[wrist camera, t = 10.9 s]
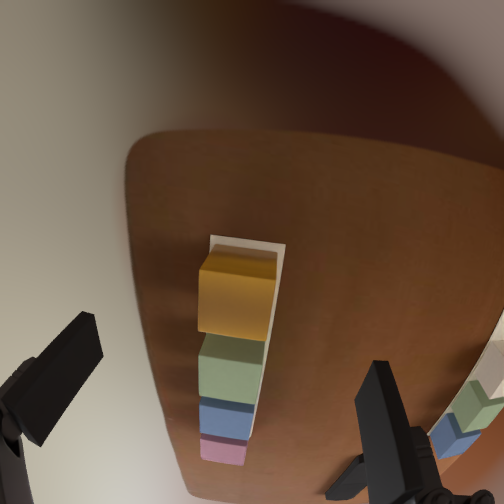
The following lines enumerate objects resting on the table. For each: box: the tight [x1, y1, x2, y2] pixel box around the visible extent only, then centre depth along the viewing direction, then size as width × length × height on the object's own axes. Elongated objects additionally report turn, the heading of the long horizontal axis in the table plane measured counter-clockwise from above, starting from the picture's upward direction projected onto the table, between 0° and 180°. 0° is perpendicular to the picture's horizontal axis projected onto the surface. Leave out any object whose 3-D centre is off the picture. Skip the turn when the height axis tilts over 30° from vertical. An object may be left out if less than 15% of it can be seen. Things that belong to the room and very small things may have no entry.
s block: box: [198, 244, 278, 341], centre depth 19 cm, size 4×4×4 cm
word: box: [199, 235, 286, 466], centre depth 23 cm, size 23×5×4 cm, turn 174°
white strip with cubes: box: [427, 310, 504, 459], centre depth 21 cm, size 23×5×4 cm, turn 174°
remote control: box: [325, 455, 367, 501], centre depth 31 cm, size 5×2×15 cm
